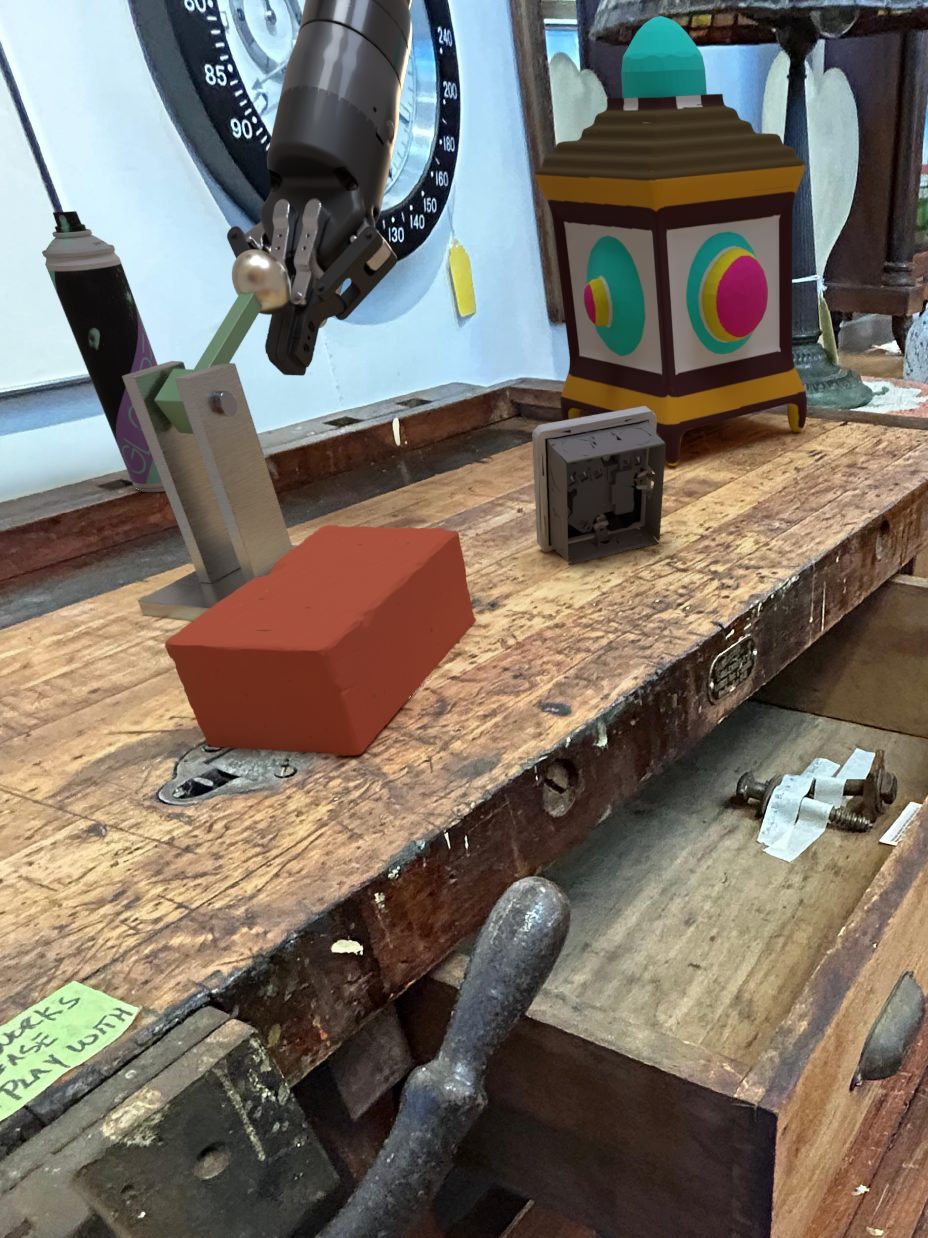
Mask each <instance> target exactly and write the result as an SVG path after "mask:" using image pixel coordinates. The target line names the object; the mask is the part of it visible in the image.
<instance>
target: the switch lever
mask: <svg viewBox="0 0 928 1238" xmlns="http://www.w3.org/2000/svg"><path fill="white" fill-rule="evenodd" d="M231 280H232V281H231V282H232V285H233V288H234V290H235V293H236V295H237V297H236V299H235V301H234V302H233V303H232V306H231V307H230V309H229V311H228V312H227V313H226V316H225V317H224V319H223V321H222V322H221V323H220V325H219V327H218V329H217V330H216V332H215V333H214V335H213V337H212V339H211V340H210V342H209V343H208V344H207V347H206V348H205V350H204V352H203V353H202V355H201V356H200V358H199V360H198V362H197V363H196V365H195V366H194V368H193V369H190V368H189V369H188V368H186V369H173V370H172V372H171V374H170V375H169V377H168V378H167V380H166V382H165V383H164V385H163V387H162V388H161V390H160V391H159V393H158V395H157V396H156V398H155V400H154V401H155V402H156V404H157V405H158V406H159V407H160V409H161V410H162V411H163V413H164V414H165V415H166V416H167V418H168V419H169V420H170V422H171V423H172V424H173V426H174V427H175V428H176V429H177V431H178V432H179V433H186V434H194V433H193V430H192V427H191V424H190V422H189V419H188V416H187V413H186V410H185V407H184V404H183V401H182V399H181V396H180V393H179V390H178V387H177V384H176V381H175V378H177V377H180V376H183V375H186V374H189V373H192V372H195V371H199V370H202V369H205V368H208V367H211V366H214V365H217V364H220V363H231V361H232V360H233V358H234V356H235V355H236V353H237V351H238V350H239V348H240V346H241V344H242V342H243V341H244V340H245V337H246V336H247V334H248V333H249V331H250V329H251V327H252V325H253V324H254V322H255V320H256V319H257V318H258V316H259V314H260V315H265V316H266V315H267V316H272V314H276V313H279V312H280V311H282V310H283V309H284V308H285V307H286V306H287V304H288V302H289V300H290V296H291V284H290V279H289V276H288V274H287V272H286V270H285V268H284V267H283V265H282V264H281V263H280V262H279V261H278V260H277V259H276V258H275V257H274V256H272V255H271V254H269V253H267V252H264V251H261V250H248V251H245V252H243V253H242V254H240V255H239V256H238V257H237V258H236V257H235V260H234V262H233V265H232V268H231Z"/></svg>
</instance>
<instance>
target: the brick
mask: <svg viewBox="0 0 928 1238" xmlns="http://www.w3.org/2000/svg"><path fill="white" fill-rule="evenodd" d="M476 619H477V618H476V617H475V615H474V611H473V603H472V599H471V595H470V591H469V587H468V581H467V570H466V564H465V559H464V554H463V550H462V544H461V539H460V534H459V532H458V531H456V530H447V529H445V528H443V527H385V526H367V525H366V526H345V525H343V526H342V525H336V524H334V525H333V524H332V525H331V524H330V525H323V526H321V527H319V528H318V529H317V530H316V531H314V532H313V533H312V534H310V535H309V536H307V537H306V538H305V539H304V540H303V541H302V542H301V543H299V544H298V545H297V547H295V548H294V549H293V550H291V551H290V552H288V553H287V554H286V555H285V556H283V557H282V558H281V559H279V560H278V562H277V563H276V564H275V565H274V566H273V568H272V571H271V573H270V574H269V575H267V576H263V577H259V578H254V579H252V580H251V581H249V582H247V583H246V584H245V585H243V586H242V587H241V588H239V589H237V590H236V591H235V592H233V593H232V594H230V595H229V596H227V597H226V598H224V599H223V600H221V601H220V602H218V603H217V604H215V605H214V606H213V607H211V608H210V609H209V610H207V611H206V612H204V613H203V614H202V615H200V616H199V617H198V618H196V619H195V620H194V621H191V622H189V623H187V624H186V625H185V626H183V627H181V629H180V630H179V631H178V632H177V633H175V634H173V635H171V636H169V638H167V639H166V641H165V643H164V644H165V645H164V648H165V650H166V652H167V654H168V656H169V658H170V659H172V661H173V662H174V664H175V670H176V672H177V675H178V677H179V680H180V682H181V684H182V686H183V691H184V694H185V695H186V697H187V701H188V704H189V707H190V708H191V709H192V711H193V714H194V717H195V719H196V722H197V725H198V727H199V728H200V730H201V732H202V734H203V736H204V739H205V742H206V743H207V744H208V745H209V746H211V747H213V748H229V749H244V750H245V749H246V750H247V749H248V750H263V751H284V752H285V751H287V752H288V751H289V752H299V753H321V754H323V753H324V754H336V755H338V756H341V757H345V756H346V757H347V756H358V755H362V753H364V752H365V750H366V749H367V748H368V747H369V746H370V745H371V744H372V742H374V739H375V738H376V737H377V735H379V733H380V732H381V731H382V730H383V729H384V728H385V727H386V725H388V723H389V722H390V721H391V720H392V718H393V717H394V716H395V715H396V714H397V713H398V711H400V709H401V708H402V707H403V706H404V705H405V703H406V702H407V701H408V700H409V699H410V698H411V696H412V695H413V694H414V693H415V692H416V691H417V690H418V689H419V688H420V687H422V685H423V684H424V683H425V682H424V681H425V680H427V678H428V677H429V676H430V675H431V673H432V672H433V671H434V670H435V669H436V668H437V667H438V665H439V664H440V663H441V662H442V661H443V660H444V658H445V657H446V656H447V655H448V654H449V652H450V651H451V650H452V649H453V648H454V647H455V646H456V645H457V644H458V642H460V641H461V639H462V638H463V637H464V636H465V635H466V633H468V631H469V630H470V628H471V627H472V626H473V625H474V624H475V623H476V621H477V620H476Z"/></svg>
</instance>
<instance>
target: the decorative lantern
mask: <svg viewBox="0 0 928 1238" xmlns="http://www.w3.org/2000/svg"><path fill="white" fill-rule="evenodd" d="M704 62H705V61H704V57H703V54H702V52H701V51H700V48H699V47H698V46H697V44H696V43H695V42H694V40H693V39H692V38H691V37H690V35H689V34H688V32H687V31H686V30H685V29H683V27H682V26H681V25H680V24H679V23H678V22H676V21H674V20H672V19H671V18H668V17H665V16H662V15H659V16H655V17H652V18H650V19H649V20H648V21H646V22H645V23H644V24H643V25H642V26H641V27H640V28H639V29H638V30H637V31H636V33H635V35H634V36H633V38H632V40H631V42H630V43H629V45H628V47H627V49H626V51H625V53H624V54H623V56H622V63H621V73H620V75H621V94H622V97H613V98H611V97H610V98H606V109H605V110H604V111H602V112H599V113H597V114H596V115H595V117H594V120H593V123H592V124H591V125H590V126H588V127H585V128H583V130H582V132H581V135H580V138H579V139H576V140H565V141H560V142H558V143H556V144H555V148H554V152H553V153H551V154H549V155H547V156H545V157H544V158H543V159H542V164H541V167H539V168H537V169H536V170H535V171H534V177H535V180H536V182H537V184H538V186H539V189H540V191H541V192H542V194H543V197H544V199H545V200H546V202H547V204H548V207H549V209H550V210H549V211H550V213H551V217H552V224H553V232H554V233H553V234H554V242H555V248H556V257H557V264H558V274H559V281H560V289H561V298H562V305H563V306H562V307H563V315H564V324H565V331H566V338H567V339H566V340H567V348H568V356H569V365H568V366H569V367H568V372H567V374H566V375H567V376H566V378H565V382H564V385H563V389H562V391H561V395H560V410H561V417H562V421H564V420H570V419H575V418H581V417H582V411H584V412H587V413H591V414H593V415H598V414H603V413H609V412H614V411H620V410H626V409H631V408H637V407H642V406H646V407H647V408H648V409H650V410H651V411H652V412H654V414H655V415H656V417H657V426H656V434H657V435H658V436H659V437H660V438H661V439H662V440H663V441H664V442H665V444H666V450H665V462H666V465H667V466H670V467H675V466H677V465H678V463H679V460H680V454H681V453H680V452H681V443H682V442H681V441H682V437H683V435H684V434H685V433H687V432H688V431H690V430H693V429H697V428H699V427H705V426H708V425H711V424H715V423H719V422H723V421H727V420H732V419H736V418H739V417H742V416H746V415H751V414H754V413H759V412H762V411H766V410H770V409H773V408H777V407H782V406H785V405H786V409H787V421H788V426H789V428H790V430H791V431H792V432H794V433H799V432H801V431H802V430H803V429H804V427H805V424H806V422H807V413H808V397H807V393H806V388H805V387H804V383H803V382H802V379H801V377H800V375H799V373H798V372H799V371H798V370H797V367H796V366H795V362H794V356H793V213H794V212H793V209H794V202H795V198H796V194H797V192H798V189H799V187H800V184H801V181H802V179H803V177H804V173H805V169H806V162H805V160H804V159H802V158H801V157H799V156H798V155H797V153H796V151H795V149H794V148H793V147H791V146H788V145H785V144H784V142H783V141H782V138H781V136H780V135H779V134H777V133H764V132H763V133H758V132H756V131H755V130H754V128H753V124H752V123H751V122H749V121H747V120H744V119H741V118H740V116H739V114H738V111H737V110H736V109H735V108H733V107H730V106H727V105H725V102H724V101H725V100H724V93H708V92H707V89H708V88H707V77H706V66H705V63H704Z"/></svg>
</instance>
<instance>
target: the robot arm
mask: <svg viewBox="0 0 928 1238" xmlns="http://www.w3.org/2000/svg"><path fill="white" fill-rule="evenodd" d="M412 3H413V0H304V5H303V10H302V13H301V18H300V23H299V29H298V32H297V33H298V34H297V36H296V40H295V44H294V46H293V48H292V51H291V53H290V56H289V59H288V61H287V63H286V64H287V65H286V68H285V72H284V77H283V81H282V86H281V90H280V95H279V100H278V104H277V109H276V113H275V119H274V123H273V127H272V132H271V137H270V141H269V145H268V151H267V155H266V165H267V171H268V176H269V183H270V191H269V194H268V196H267V198H266V200H265V201H264V202H263V204H262V205H261V208H260V213H259V218H260V222H258V223H257V224H256V225H254V226H253V227H251V228H250V229H249V230H248V231H247V232H244V230H242V228H241V227H240V226H238V225H234V226H232V227H230V228H229V229H228V231H227V233H226V238H227V241H228V244H229V246H230V248H231V250H232V253H233V255H234V257H235V259H236V258H237V257H238V256H239V255H240V254H242V253H243V252H245V251H248V250H261V251H264V252H267V253H269V254H271V255H272V256H274V257H275V258H276V259H277V260H278V261H279V262H280V263H281V264H282V265H283V267H284V268H285V270H286V272H287V274H288V276H289V279H290V284H291V296H290V300H289V302H288V304H287V306H286V307H285V308H284V309H283V310H282V311H280V312H279V313H276V314H272V315H270V320H269V324H268V325H269V326H268V330H267V334H266V335H267V336H266V339H265V344H264V348H265V349H264V350H265V354H266V355H267V358H268V360H269V362H270V363H271V364H272V365H273V366H274V367H275V368H276V369H277V370H278V371H279V372H280V373H281V374H282V375H284V376H301V377H302V376H305V375H306V372H307V368H309V367H310V365H311V363H312V361H313V359H314V352H315V349H316V345H317V340H318V335H319V330H320V329H321V328H323V327H325V325H326V324H327V322H328V319H330V318H333V317H335V318H336V319H337V320H338V321H344V320H346V319H347V318H348V317H349V316H350V315H351V314H352V313H353V312H354V311H355V310H356V309H357V308H358V307H359V306H360V304H361V303H363V301H364V300H365V299H366V298H367V296H368V295H369V294H371V292H372V291H373V290H374V289H375V288H376V287H377V286H378V285H379V284H380V283H381V281H383V279H384V278H385V277H386V276H387V275H388V274H389V273H390V272H391V270H392V269H394V268H395V266H396V264H397V262H398V257H397V255H396V253H395V252H394V251H393V249H392V247H391V246H390V244H389V243H388V242H387V240H386V239H385V238H384V236H383V235H382V234H381V233H380V231H379V230H378V229H377V228H376V224H377V222H378V221H379V219H380V215H381V210H382V206H383V201H384V197H385V192H386V187H387V183H388V178H389V173H390V168H391V165H392V159H393V154H394V149H395V145H396V140H397V137H398V130H399V123H400V109H401V107H400V105H401V98H402V93H403V90H404V89H403V88H404V85H405V84H404V83H405V79H406V75H407V68H408V65H409V59H410V56H411V55H410V54H411V49H412V41H413V21H412V14H411V7H412V6H411V5H412ZM347 279H349V280H350V284H349V285H348V286H347V288H346V289H344V291H343V292H342V289H343V285H344V283H345V282H346V281H347ZM341 292H342V293H341Z"/></svg>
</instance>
